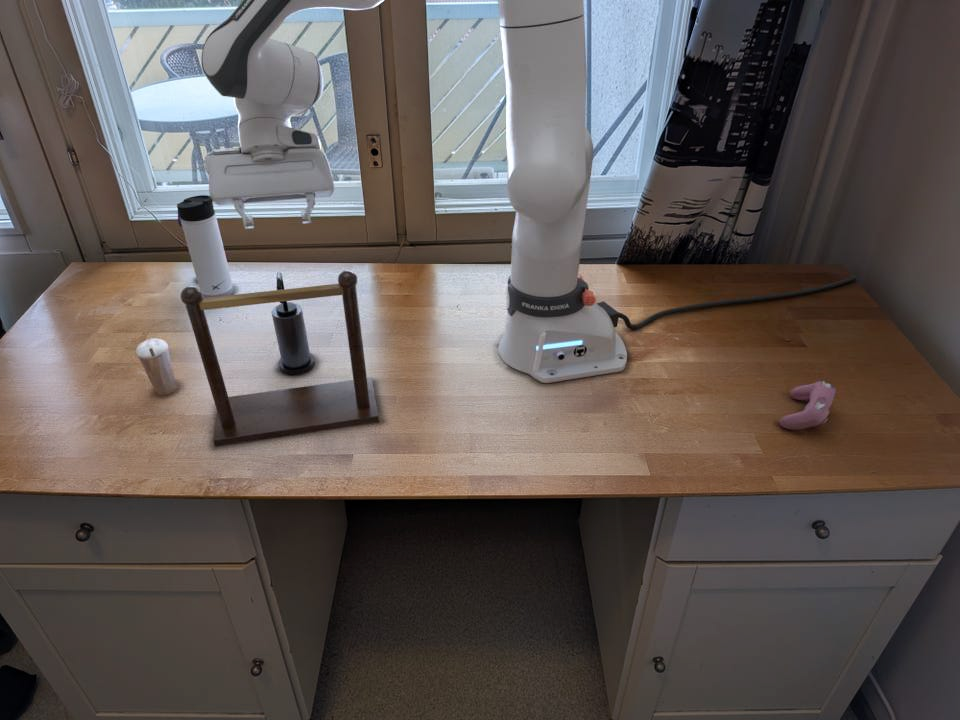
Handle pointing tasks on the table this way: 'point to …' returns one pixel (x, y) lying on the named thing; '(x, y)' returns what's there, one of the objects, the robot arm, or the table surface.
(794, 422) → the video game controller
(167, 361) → the milkshake
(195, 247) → the travel mug
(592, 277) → the table surface
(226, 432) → the rack
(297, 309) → the dark cylindrical piece
